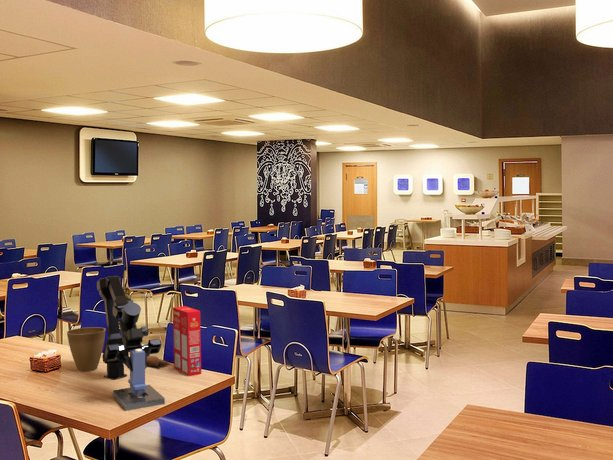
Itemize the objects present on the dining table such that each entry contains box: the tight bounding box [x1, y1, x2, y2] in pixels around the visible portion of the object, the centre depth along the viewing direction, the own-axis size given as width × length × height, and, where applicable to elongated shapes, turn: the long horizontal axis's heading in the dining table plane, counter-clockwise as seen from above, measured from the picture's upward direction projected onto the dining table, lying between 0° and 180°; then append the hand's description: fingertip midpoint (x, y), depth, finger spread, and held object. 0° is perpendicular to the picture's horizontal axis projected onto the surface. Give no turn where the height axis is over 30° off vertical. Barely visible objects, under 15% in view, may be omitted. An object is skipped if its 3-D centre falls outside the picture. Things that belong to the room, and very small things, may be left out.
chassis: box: [112, 384, 166, 411], centre depth 220 cm, size 18×13×2 cm
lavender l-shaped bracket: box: [127, 349, 148, 394], centre depth 220 cm, size 10×4×15 cm, turn 28°
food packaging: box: [172, 305, 202, 377], centre depth 255 cm, size 15×5×25 cm, turn 34°
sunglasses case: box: [129, 355, 172, 369], centre depth 268 cm, size 18×7×7 cm
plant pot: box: [66, 326, 107, 372], centre depth 260 cm, size 15×15×16 cm
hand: (138, 369), depth 218 cm, fingers closed on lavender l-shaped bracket, 4 cm apart
